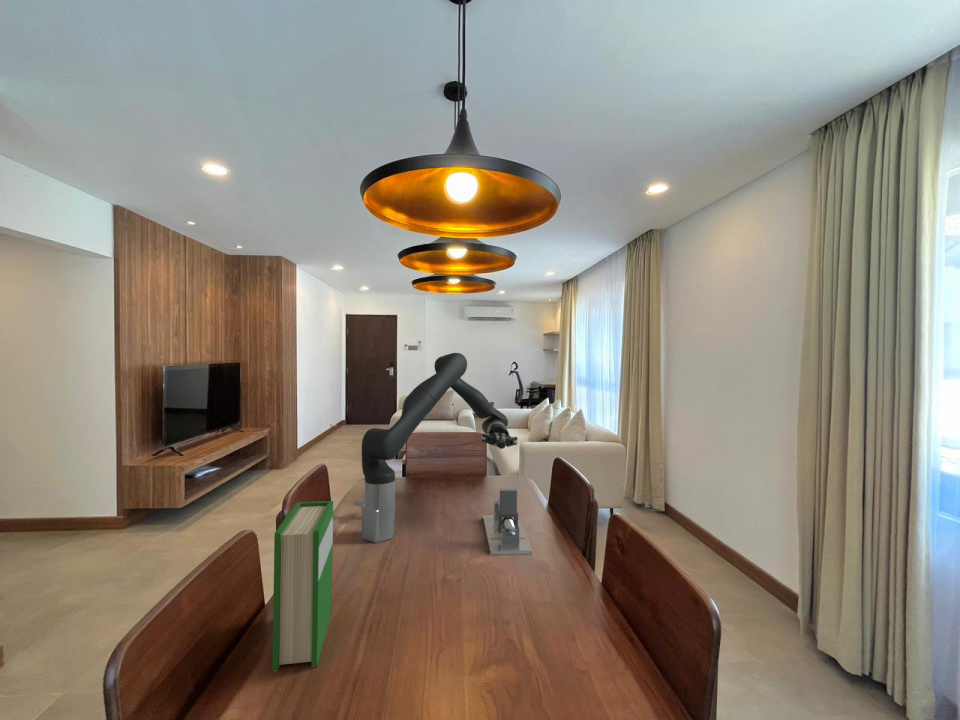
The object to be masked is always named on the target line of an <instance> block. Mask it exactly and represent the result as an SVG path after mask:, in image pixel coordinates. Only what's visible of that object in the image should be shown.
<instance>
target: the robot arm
mask: <svg viewBox="0 0 960 720" xmlns="http://www.w3.org/2000/svg"><path fill="white" fill-rule="evenodd" d="M467 369H468V360H467V358H466V356H465V355H464V354H462V353H460V352H451V353H448V354H445V355H441V356H439V357H437V359H435V362H434V370H435V373H434V374H433V375H431V376H430V377H428V378H427V379H425V380H424V381H422V382H421V383H419V384H418V385H417V386H416V387H415V388H414V389H413V390H412V391H411V392H410V393H408V395H407V396H406V397H405V399H404V401H403V403H402V408H401V415H400V417H399V419H398V420H397V421H396V422H395V423H394V424H393V425H392V426H391V427H390V428H387V429H385V428H379V427H378V428H377V427H373V428H370V429H368V430H366V432H365V433H364V435H363V437H362V440H361V467H362V468H361V469H362V474H363V475H364V500H363V501H364V507H363V508H362V510H361V539H363V540H366V541H369V542H372V543H374V544H375V543H378V542H385V541H389V540H390V539H392V538H394V536H395V514H396V513H395V506H396V505H395V503H396V500H395V499H396V497H395V496H396V494H395V493H396V472H395V470H394V469H393V468H392V467H391V466H389V464H388V463H387V461H389V460H392V459H394V458H396V457H397V456H398V454H399V453H400V452H401V450H403V448H404V446H405V445H406V443H407V441H408V440H409V439H410V437H411V436H412V434H414V433H413V432H414V431H415V430H416V429H417V428H418V426H419V425H420V424H421V422H423V420H424V419H425V418H426V417H427V416H428V415H429V413H430V412H431V411H432V410H433V409H434V408H435V406H436V405H437V403H439V401H440V400H441V399H442V398H443V396H444V395H445V394H446V393H447V391H448V390H449V389H450V388H451V389H452V390H453V391H454V392H455V393H456V394H457V395H458V396H460V398H461V399H462V400H463V401H464V402H465V403H466V404H467V405H468V406H469V408H470V409H471V410H472V412H473V413H474V414H475V415H476V416H477V417H478V418H479V419H485V418H486V419H485V420H484V421H483V422H482V424H481V428H482V431H483V432H484V433H482V435H481V442H482V443H483V442H484V443H485V444H488V445H490V446H495V447H497V448H498V449H499V450H503V449H505V448H506V447H507V448H509V447H513V446H517V445H518V444H517V443H518V436H512V435H510V433H509V430H508V425H509V419H508V418H507V416H506V415H505V414H504V413H502V412H501V411H499V410H498V409H497V408H495V407H494V406H493V405H492V404H491V403H490V402H489V400H488V398H486V396H485V395H484V394H483V393H482V392H481V391H480V390H478V389H477V388H476V387H474V386H472V385H470V384H469V383H468V382H466V381H465V380H463V378H462V377H463V376H464V375H465V373H466V372H467Z"/></svg>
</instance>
